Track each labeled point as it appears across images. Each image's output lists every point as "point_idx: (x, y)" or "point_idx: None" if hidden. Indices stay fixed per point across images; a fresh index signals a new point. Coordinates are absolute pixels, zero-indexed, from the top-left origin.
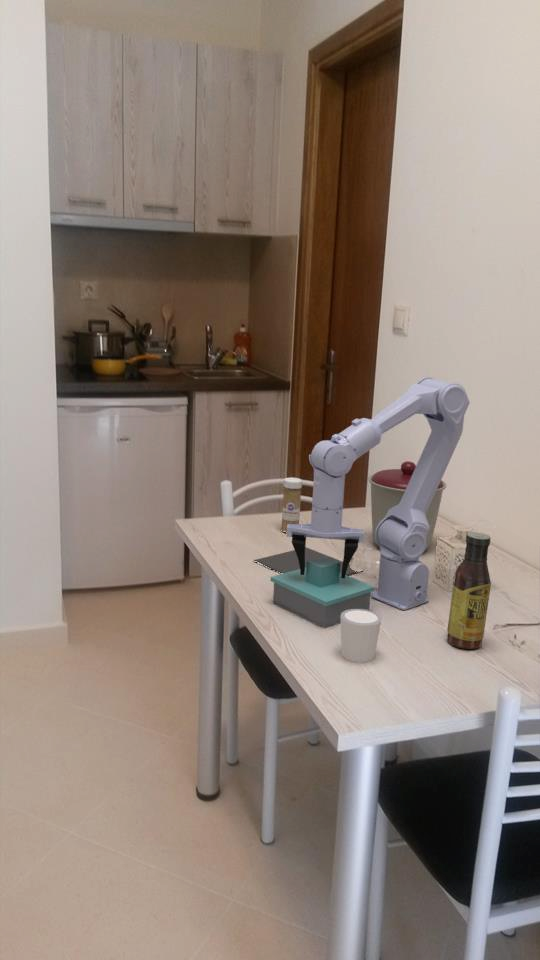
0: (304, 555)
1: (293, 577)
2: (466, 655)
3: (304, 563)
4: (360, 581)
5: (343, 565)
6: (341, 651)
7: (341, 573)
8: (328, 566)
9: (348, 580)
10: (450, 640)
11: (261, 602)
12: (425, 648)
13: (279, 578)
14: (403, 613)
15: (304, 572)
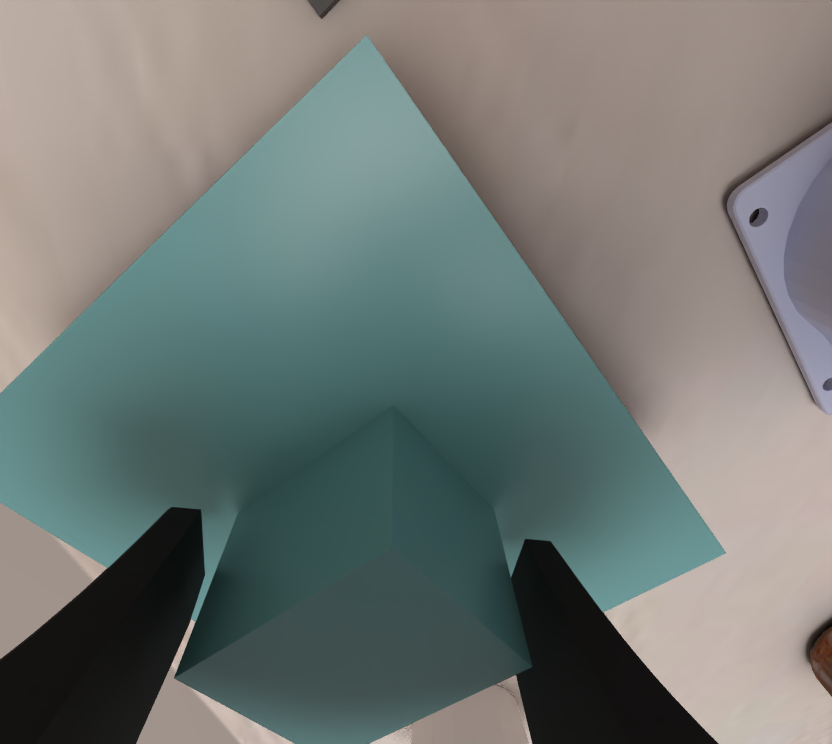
0: (111, 706)
1: (128, 454)
2: (810, 691)
3: (160, 636)
4: (665, 484)
5: (535, 735)
6: (412, 725)
7: (524, 560)
8: (395, 720)
9: (577, 475)
10: (817, 669)
11: (19, 351)
12: (704, 669)
13: (18, 483)
14: (800, 430)
15: (201, 541)
